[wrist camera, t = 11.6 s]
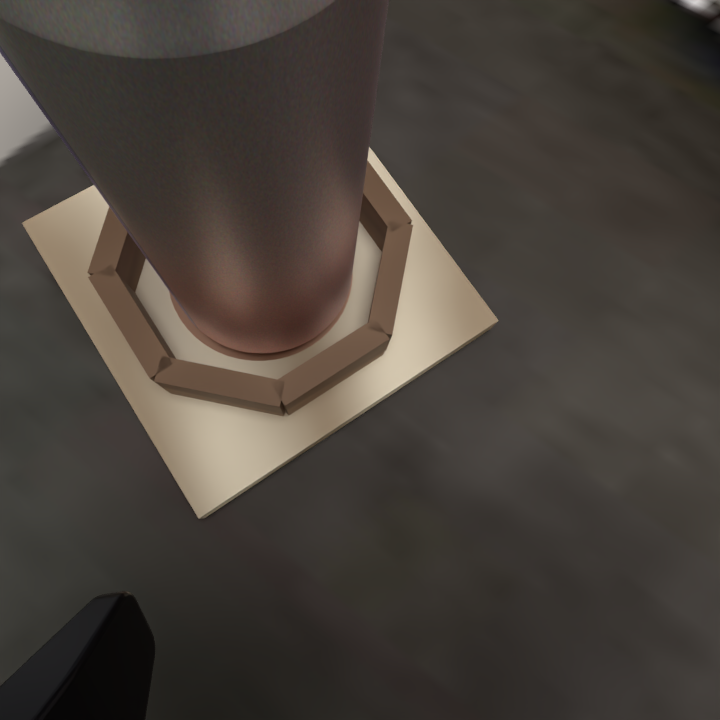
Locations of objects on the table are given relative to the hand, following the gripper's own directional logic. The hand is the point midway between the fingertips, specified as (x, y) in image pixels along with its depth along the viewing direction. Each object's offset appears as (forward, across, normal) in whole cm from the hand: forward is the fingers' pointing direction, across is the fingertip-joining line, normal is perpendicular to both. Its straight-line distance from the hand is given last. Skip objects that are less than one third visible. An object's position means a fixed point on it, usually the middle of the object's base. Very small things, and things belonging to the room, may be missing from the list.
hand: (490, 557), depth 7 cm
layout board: (+15, +5, 0) cm, 16 cm away
